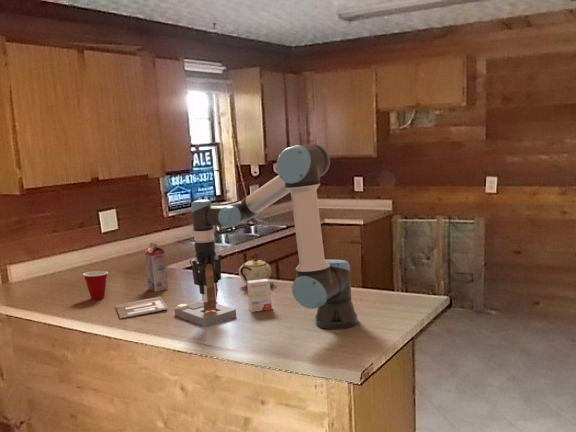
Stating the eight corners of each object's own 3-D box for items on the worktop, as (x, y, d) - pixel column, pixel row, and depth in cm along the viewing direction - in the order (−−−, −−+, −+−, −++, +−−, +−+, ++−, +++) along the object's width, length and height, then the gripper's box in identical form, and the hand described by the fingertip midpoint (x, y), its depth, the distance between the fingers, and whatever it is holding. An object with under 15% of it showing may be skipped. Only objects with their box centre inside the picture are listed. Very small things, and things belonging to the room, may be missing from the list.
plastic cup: (115, 296, 261) (112, 270, 259) (96, 302, 252) (92, 276, 250) (100, 293, 267) (97, 268, 265) (80, 299, 258) (77, 274, 256)
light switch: (160, 300, 250) (116, 309, 243) (160, 296, 249) (115, 304, 242) (168, 311, 233) (120, 321, 227) (167, 306, 233) (120, 316, 226)
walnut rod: (216, 308, 220) (212, 263, 217) (209, 311, 217) (205, 265, 215) (211, 307, 222) (207, 262, 220) (204, 309, 220) (200, 264, 217)
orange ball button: (218, 314, 220) (218, 311, 220) (209, 317, 217) (209, 314, 217) (212, 311, 223) (212, 309, 223) (202, 314, 220) (202, 312, 220)
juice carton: (155, 291, 264) (150, 245, 261) (148, 289, 269) (143, 243, 266) (167, 288, 268) (163, 242, 265) (160, 286, 273) (156, 241, 270)
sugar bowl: (257, 278, 276) (254, 248, 274) (281, 281, 268) (279, 250, 265) (229, 288, 261) (227, 256, 259) (255, 292, 252) (252, 259, 250)
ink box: (269, 306, 231) (267, 277, 229) (272, 309, 226) (270, 280, 224) (248, 308, 229) (246, 280, 227) (250, 312, 224) (248, 283, 223)
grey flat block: (236, 317, 220) (235, 306, 219) (206, 326, 211) (205, 316, 210) (204, 306, 236) (203, 296, 235) (175, 315, 227) (174, 305, 226)
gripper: (216, 236, 224) (221, 293, 227) (180, 243, 213) (185, 303, 217) (227, 237, 218) (232, 297, 222) (191, 245, 208) (196, 307, 211)
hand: (209, 300), depth 219 cm, fingers closed on walnut rod, 3 cm apart
